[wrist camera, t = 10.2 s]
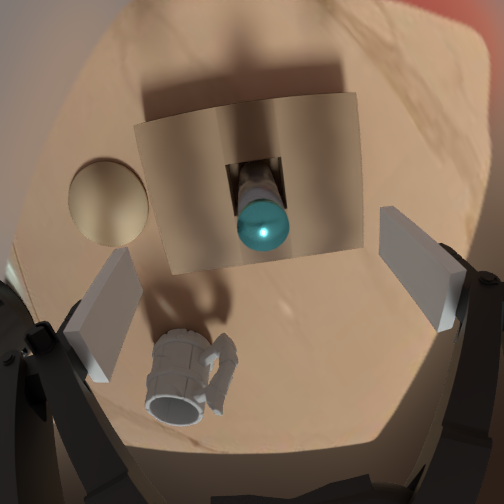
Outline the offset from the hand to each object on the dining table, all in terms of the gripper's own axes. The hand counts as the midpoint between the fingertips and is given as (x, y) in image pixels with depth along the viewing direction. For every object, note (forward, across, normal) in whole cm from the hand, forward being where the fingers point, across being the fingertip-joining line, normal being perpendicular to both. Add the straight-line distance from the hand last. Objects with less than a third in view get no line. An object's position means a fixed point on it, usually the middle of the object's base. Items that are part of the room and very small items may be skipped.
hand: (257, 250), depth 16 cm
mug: (+15, -9, -19) cm, 26 cm away
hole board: (+15, +1, 0) cm, 15 cm away
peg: (+15, +1, 0) cm, 15 cm away
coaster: (+15, -14, 0) cm, 21 cm away
